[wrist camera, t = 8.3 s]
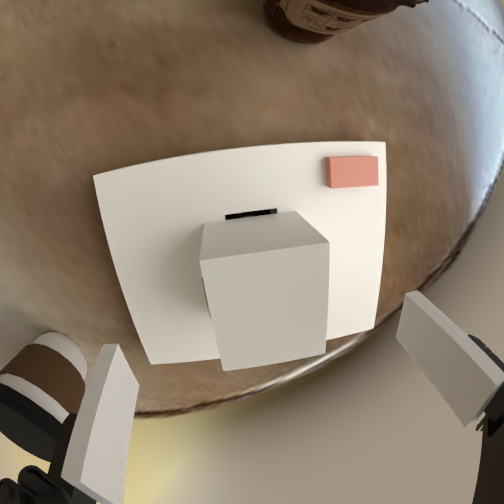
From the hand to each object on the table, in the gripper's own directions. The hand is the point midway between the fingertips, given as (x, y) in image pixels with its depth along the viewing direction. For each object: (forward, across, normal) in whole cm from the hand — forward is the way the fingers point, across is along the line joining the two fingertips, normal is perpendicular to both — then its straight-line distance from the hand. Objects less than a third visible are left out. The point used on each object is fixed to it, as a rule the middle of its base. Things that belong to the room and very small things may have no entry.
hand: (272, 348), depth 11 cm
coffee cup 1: (+12, -21, -9) cm, 26 cm away
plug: (+11, +1, 0) cm, 11 cm away
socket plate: (+12, +1, 0) cm, 12 cm away
